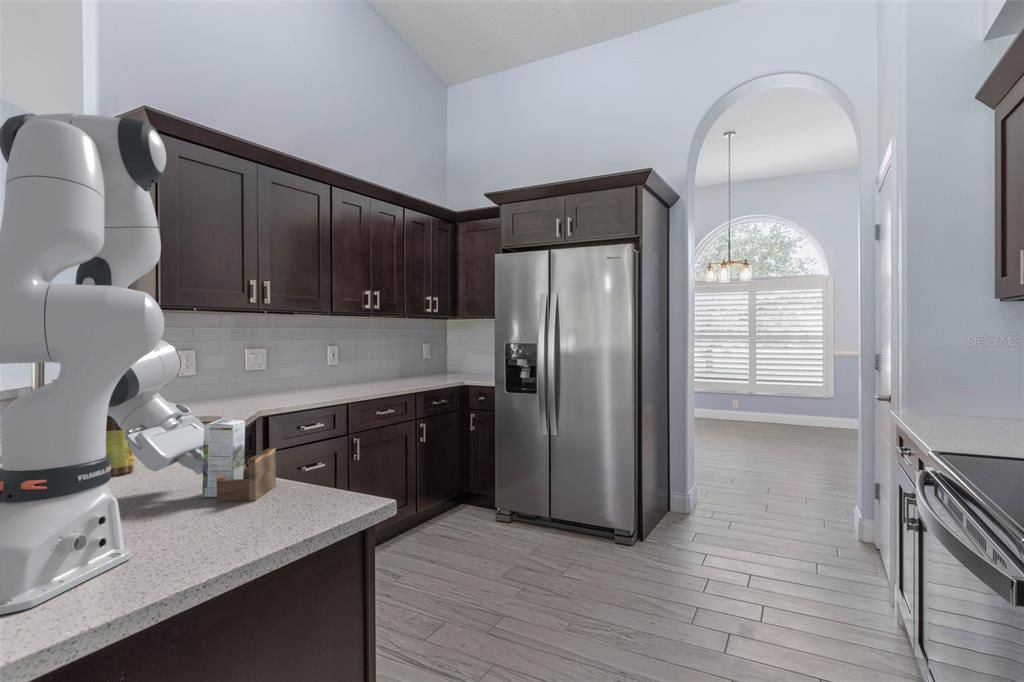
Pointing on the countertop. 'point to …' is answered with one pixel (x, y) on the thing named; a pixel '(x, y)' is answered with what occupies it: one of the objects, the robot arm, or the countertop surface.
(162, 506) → the countertop surface
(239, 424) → the syrup box
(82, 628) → the countertop surface
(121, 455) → the sauce bottle
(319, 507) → the countertop surface
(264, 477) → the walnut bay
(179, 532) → the countertop surface
